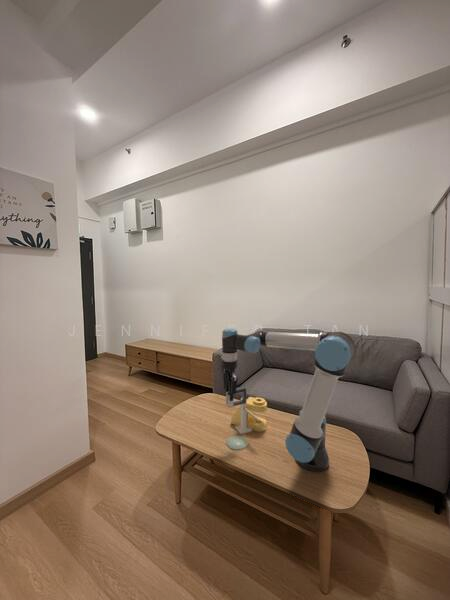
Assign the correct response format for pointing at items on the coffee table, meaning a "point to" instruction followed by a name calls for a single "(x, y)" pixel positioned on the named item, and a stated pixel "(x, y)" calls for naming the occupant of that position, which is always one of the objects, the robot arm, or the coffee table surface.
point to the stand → (242, 427)
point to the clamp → (253, 406)
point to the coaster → (237, 442)
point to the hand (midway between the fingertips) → (229, 405)
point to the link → (242, 397)
